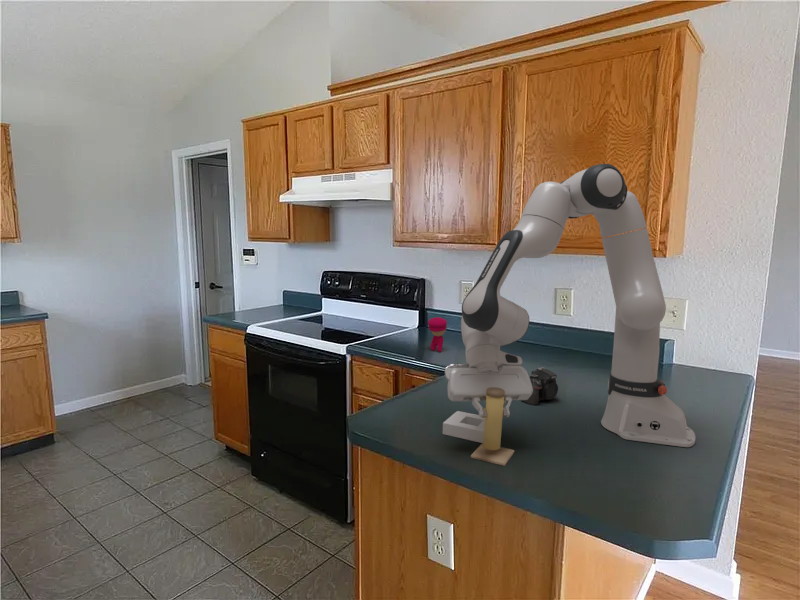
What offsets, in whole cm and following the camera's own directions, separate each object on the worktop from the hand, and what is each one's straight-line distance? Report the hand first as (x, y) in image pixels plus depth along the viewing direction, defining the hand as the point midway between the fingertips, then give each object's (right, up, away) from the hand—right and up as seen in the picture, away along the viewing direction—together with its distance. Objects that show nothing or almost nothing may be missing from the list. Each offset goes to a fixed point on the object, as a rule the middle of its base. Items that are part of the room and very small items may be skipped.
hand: (494, 416), depth 113 cm
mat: (0, -9, +2) cm, 10 cm away
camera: (+22, -5, +41) cm, 47 cm away
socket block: (-3, -8, +15) cm, 17 cm away
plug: (0, -7, +2) cm, 8 cm away
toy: (-6, +4, +102) cm, 102 cm away
